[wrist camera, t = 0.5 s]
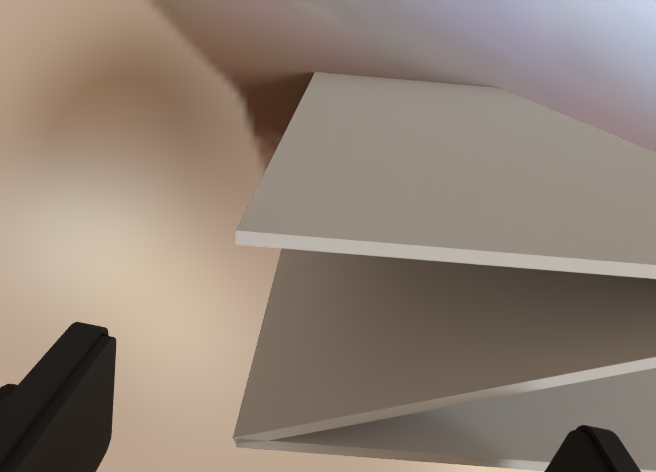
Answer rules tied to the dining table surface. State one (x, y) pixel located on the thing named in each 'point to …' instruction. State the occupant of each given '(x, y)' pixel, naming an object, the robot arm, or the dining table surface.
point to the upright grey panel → (451, 279)
